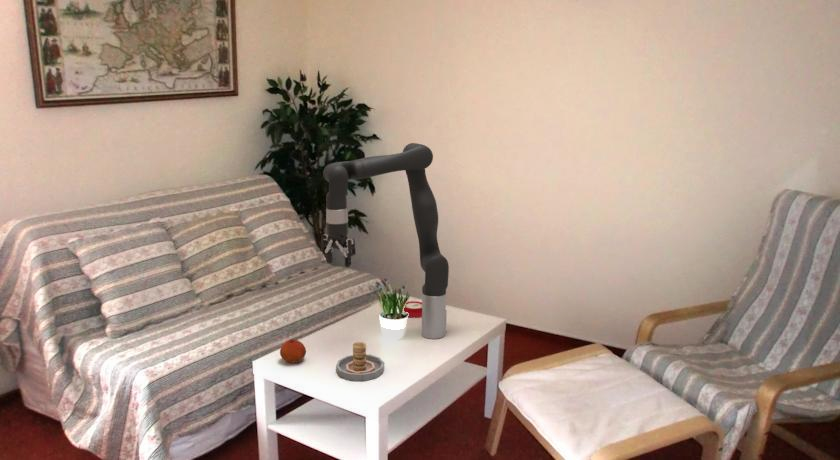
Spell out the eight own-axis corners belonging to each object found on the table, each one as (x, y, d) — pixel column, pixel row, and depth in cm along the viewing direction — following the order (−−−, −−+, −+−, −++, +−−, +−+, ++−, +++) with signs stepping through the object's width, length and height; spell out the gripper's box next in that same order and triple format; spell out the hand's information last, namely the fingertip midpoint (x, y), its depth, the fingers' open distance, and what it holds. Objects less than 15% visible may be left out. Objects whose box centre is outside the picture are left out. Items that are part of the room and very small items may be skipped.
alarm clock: (396, 303, 281) (429, 292, 284) (399, 316, 283) (432, 305, 286) (402, 311, 271) (436, 300, 274) (405, 324, 273) (439, 314, 276)
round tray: (357, 356, 236) (357, 350, 236) (392, 368, 227) (392, 361, 227) (327, 372, 224) (327, 366, 223) (363, 385, 215) (363, 378, 214)
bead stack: (358, 365, 228) (358, 340, 226) (368, 368, 226) (368, 344, 224) (350, 369, 225) (350, 345, 223) (360, 372, 222) (360, 348, 220)
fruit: (291, 368, 226) (290, 347, 224) (275, 361, 232) (274, 340, 230) (311, 360, 233) (310, 339, 231) (296, 353, 238) (295, 333, 237)
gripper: (359, 221, 229) (360, 265, 233) (329, 216, 237) (330, 259, 241) (345, 225, 223) (346, 270, 227) (314, 220, 231) (316, 264, 235)
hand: (338, 264), depth 234 cm, fingers open, 8 cm apart
